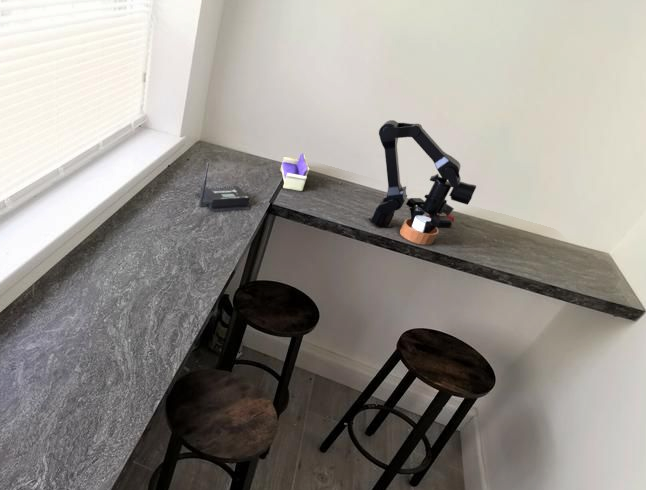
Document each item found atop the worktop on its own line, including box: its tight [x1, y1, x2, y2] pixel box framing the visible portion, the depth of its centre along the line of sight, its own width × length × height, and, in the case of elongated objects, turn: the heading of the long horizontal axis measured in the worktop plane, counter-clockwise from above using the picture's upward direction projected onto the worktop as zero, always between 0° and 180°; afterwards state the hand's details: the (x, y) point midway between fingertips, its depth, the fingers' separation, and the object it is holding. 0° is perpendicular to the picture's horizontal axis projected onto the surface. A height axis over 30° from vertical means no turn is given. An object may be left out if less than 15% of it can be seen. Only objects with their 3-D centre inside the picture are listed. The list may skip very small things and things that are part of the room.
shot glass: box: [411, 214, 431, 232], centre depth 186 cm, size 7×7×7 cm
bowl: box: [399, 217, 440, 246], centre depth 187 cm, size 12×12×4 cm
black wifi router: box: [198, 162, 251, 212], centre depth 185 cm, size 20×14×17 cm
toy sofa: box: [279, 153, 310, 192], centre depth 213 cm, size 21×9×10 cm, turn 172°
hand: (418, 232), depth 187 cm, fingers closed on shot glass, 6 cm apart
